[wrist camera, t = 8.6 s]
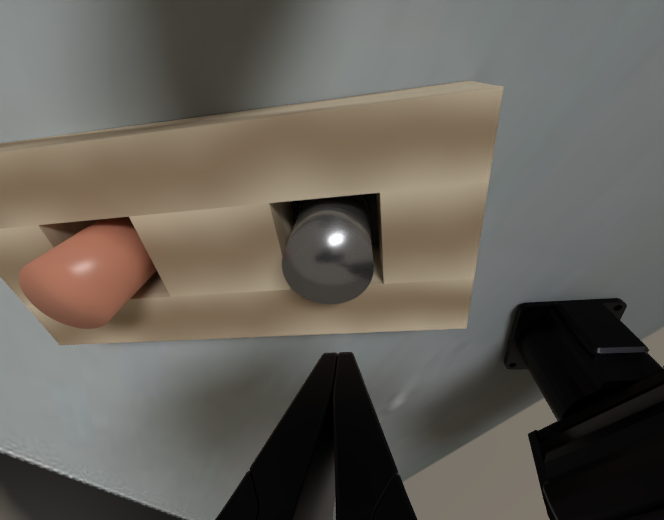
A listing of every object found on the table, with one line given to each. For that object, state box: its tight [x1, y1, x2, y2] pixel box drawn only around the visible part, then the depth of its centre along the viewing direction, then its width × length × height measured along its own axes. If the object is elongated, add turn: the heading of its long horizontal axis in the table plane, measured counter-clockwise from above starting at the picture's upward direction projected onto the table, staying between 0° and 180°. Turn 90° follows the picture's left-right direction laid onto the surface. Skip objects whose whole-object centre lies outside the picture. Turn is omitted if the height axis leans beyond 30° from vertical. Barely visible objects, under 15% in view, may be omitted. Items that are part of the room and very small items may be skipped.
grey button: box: [282, 194, 374, 304], centre depth 16 cm, size 4×4×6 cm
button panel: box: [0, 81, 504, 345], centre depth 17 cm, size 12×26×4 cm, turn 97°
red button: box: [19, 217, 157, 329], centre depth 16 cm, size 4×4×6 cm
